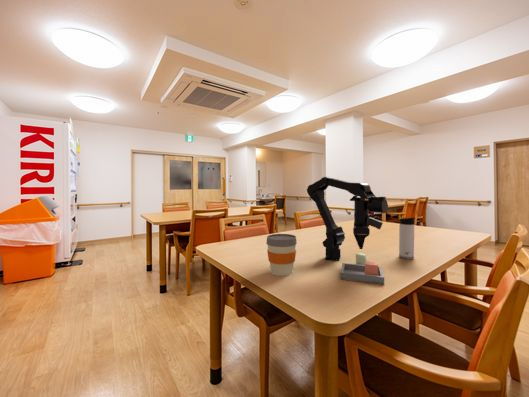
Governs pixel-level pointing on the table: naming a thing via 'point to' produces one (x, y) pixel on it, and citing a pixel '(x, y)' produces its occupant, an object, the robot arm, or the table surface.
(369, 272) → the red cube
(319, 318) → the table surface
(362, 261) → the green cylinder
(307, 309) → the table surface
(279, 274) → the reusable coffee cup
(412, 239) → the travel mug
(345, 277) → the serving tray
